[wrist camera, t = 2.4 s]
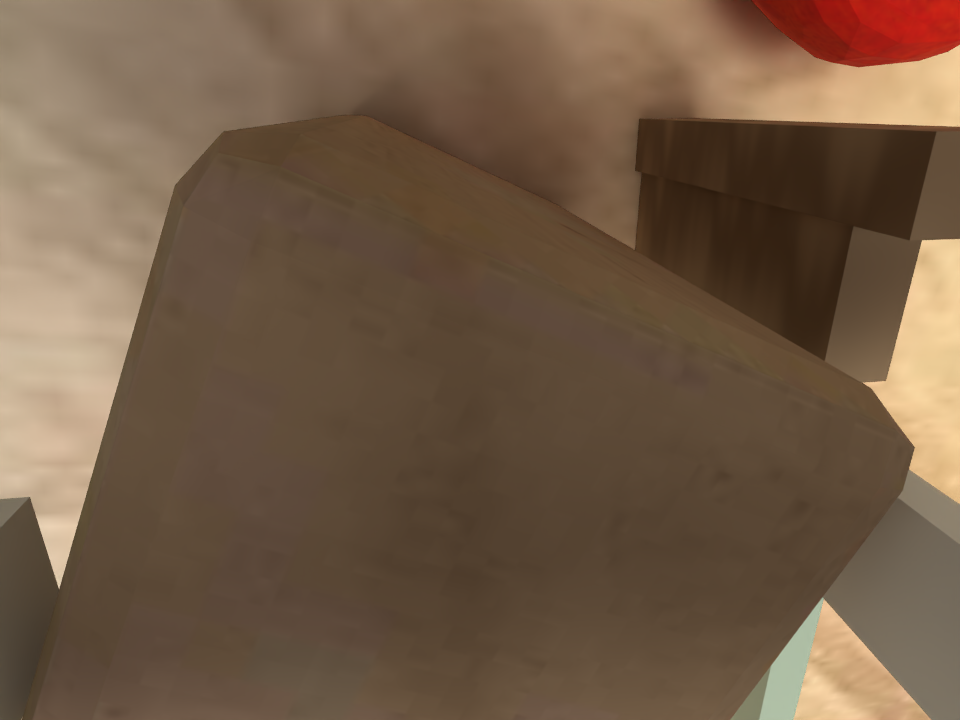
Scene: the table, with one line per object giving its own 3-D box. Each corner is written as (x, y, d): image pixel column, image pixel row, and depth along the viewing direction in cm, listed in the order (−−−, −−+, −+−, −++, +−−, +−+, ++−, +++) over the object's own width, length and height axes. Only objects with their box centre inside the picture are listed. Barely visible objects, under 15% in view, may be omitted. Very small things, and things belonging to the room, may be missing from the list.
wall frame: (639, 118, 25) (936, 132, 12) (696, 118, 26) (1052, 129, 12) (590, 717, 38) (704, 1066, 24) (628, 712, 38) (763, 1054, 24)
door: (643, 280, 27) (839, 414, 15) (670, 279, 28) (883, 411, 16) (612, 612, 34) (731, 882, 22) (633, 610, 34) (763, 877, 22)
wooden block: (570, 210, 26) (984, 446, 8) (473, 410, 29) (612, 924, 11) (342, 103, 24) (170, 86, 5) (259, 335, 27) (-36, 844, 8)
